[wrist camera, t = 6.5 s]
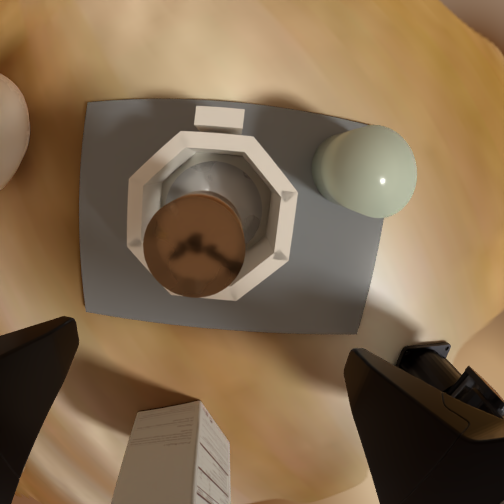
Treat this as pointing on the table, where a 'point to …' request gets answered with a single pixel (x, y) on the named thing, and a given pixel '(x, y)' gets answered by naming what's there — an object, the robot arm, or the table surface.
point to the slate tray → (270, 289)
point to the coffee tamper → (203, 229)
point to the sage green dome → (366, 171)
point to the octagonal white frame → (232, 152)
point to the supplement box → (175, 459)
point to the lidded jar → (12, 129)
